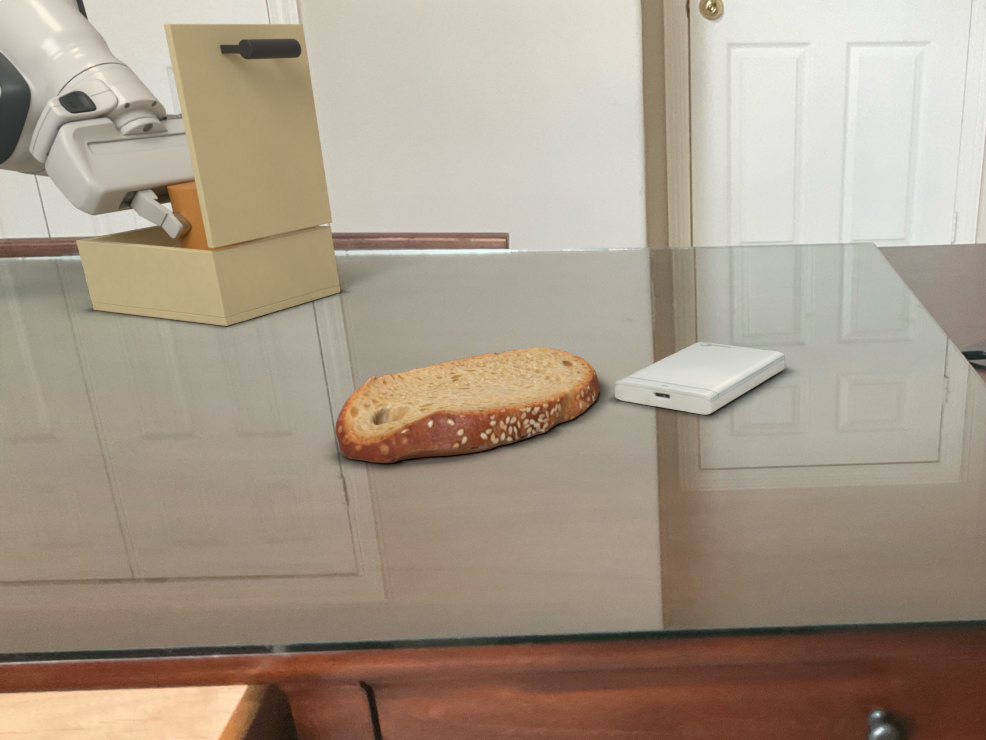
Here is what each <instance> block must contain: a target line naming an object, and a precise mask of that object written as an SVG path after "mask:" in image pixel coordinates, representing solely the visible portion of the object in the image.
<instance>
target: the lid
mask: <svg viewBox="0 0 986 740" xmlns="http://www.w3.org/2000/svg"><path fill="white" fill-rule="evenodd" d="M163 28H164V33H165V37H166V43H167V47H168V53H169V58H170V62H171V67H172V73H173V77H174V82H175V88H176V92H177V98H178V102H179V107H180V114H181V113H182V118H183V123H184V128H185V133H186V138H187V143H188V148H189V153H190V158H191V163H192V168H193V173H194V178H195V183H196V188H197V193H198V198H199V203H200V208H201V213H202V219H203V224H204V229H205V234H206V239H207V244H208V248H217V247H222V246H226V245H231V244H236V243H240V242H245V241H249V240H254V239H259V238H263V237H268V236H272V235H277V234H281V233H286V232H291V231H295V230H300V229H304V228H309V227H314V226H318V225H319V226H324V225H326V224H327V225H328V224H331V223H333V217H332V211H331V204H330V198H329V192H328V184H327V177H326V171H325V164H324V158H323V149H322V143H321V137H320V131H319V125H318V117H317V111H316V104H315V98H314V91H313V85H312V77H311V69H310V63H309V58H308V50H307V44H306V38H305V30H304V24H302V23H164V24H163Z"/></svg>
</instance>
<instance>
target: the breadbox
mask: <svg viewBox="0 0 986 740" xmlns="http://www.w3.org/2000/svg"><path fill="white" fill-rule="evenodd" d="M75 243H76V246H77V249H78V255H79V258H80V261H81V265H82V270H83V273H84V277H85V281H86V284H87V285H86V286H87V288H88V289H87V290H88V292H89V296H90V300H91V304H92V308H93V310H94V311H100V312H107V313H117V314H124V315H132V316H142V317H149V318H157V319H165V320H173V321H182V322H189V323H190V322H191V323H198V324H207V325H213V326H222V327H230V326H232V325H236V324H239V323H242V322H245V321H246V322H247V321H249V320H252V319H255V318H259V317H262V316H266V315H269V314H272V313H276V312H279V311H283V310H285V309H289V308H292V307H295V306H299V305H303V304H306V303H309V302H313V301H317V300H319V299H323V298H325V297H330V296H333V295H336V294H340V293H341V286H340V278H339V272H338V267H337V266H338V265H337V260H336V254H335V247H334V240H333V234H332V228H331V225H318V226H314V227H309V228H304V229H300V230H295V231H291V232H286V233H281V234H277V235H272V236H268V237H263V238H259V239H254V240H249V241H245V242H242V244H240V245H236V246H231V247H227V248H222V249H218V250H213V251H209V250H198V249H187V248H181V244H180V240H179V237H178V238H174V239H173V238H171V237H170V235H169V234H168V233H167V232H166V231H165V230H164V229H163V228H162V226H158V225H151V226H147V227H142V228H135V229H130V230H126V231H119V232H114V233H108V234H104V235H103V234H102V235H98V236H93V237H87V238H82V239H77V240H75Z"/></svg>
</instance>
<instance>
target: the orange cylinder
mask: <svg viewBox="0 0 986 740" xmlns="http://www.w3.org/2000/svg"><path fill="white" fill-rule="evenodd" d="M167 189H168V194H169V198H170V202H171V203H170V205H171V206H170V207H171V211H172V212H173V213H176V212H180V213H181V214H182V215H183V216H184V217H185V219H186V220H188V221H189V222H190V224H191V229H190V231H189V232H188V235H187V236H183V237H179V240H180V244H181V248H187V249H198V250H209V251H213V250H218V249H222V248H227V247H231V246H236V245H240V244H242V242H240V243H236V244H231V245H226V246H222V247H217V248H208V244H207V239H206V234H205V229H204V224H203V219H202V213H201V208H200V203H199V198H198V193H197V188H196V183H195V181H193V182H187V183H182V184H176V185H170V186H167Z"/></svg>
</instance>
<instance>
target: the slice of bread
mask: <svg viewBox="0 0 986 740" xmlns="http://www.w3.org/2000/svg"><path fill="white" fill-rule="evenodd" d="M599 394H600V383H599V378H598V374H597V372H596V370H595V368H594V367H593V366H592V365H591V364H590V363H589V362H588V361H587V360H585V359H584V358H582V357H581V356H578V355H575V354H573V353H570V352H568V351H567V350H561V349H555V348H550V347H545V346H544V347H543V346H539V347H531V348H530V347H529V348H523V349H512V350H511V349H510V350H504V351H502V352H493V353H490V352H488V353H484V354H482V355H481V354H480V355H471V356H468V357H462V358H457V359H453V360H448V361H445V362H442V363H439V364H434V363H433V364H432V365H431V364H430V365H428V366H424V367H417V368H413V369H410V370H408V371H402V372H398V373H387V374H384V375H381V376H378V377H377V374H375V375H373V376H370V377H369V379H368V380H366V381H365V383H364V384H362V385H361V386H359V387H357V388H356V389H354V391H353V392H352V394H351V395H349V397H348V398H347V399H346V401H345V402H344V404H343V405H342V408H341V409H340V411H339V414H338V416H337V418H336V422H335V429H334V431H335V436H336V439H337V442H338V445H339V450H340V452H341V454H342V455H343V456H344V457H345V458H347V459H350V460H356V461H364V462H369V463H375V464H376V463H377V464H392V463H396V462H399V461H404V460H409V459H419V458H426V457H427V458H428V457H447V456H457V455H465V454H472V453H473V454H474V453H478V452H479V453H480V452H483V451H488V450H491V449H493V448H496V447H499V446H505V445H510V444H514V443H515V442H519V441H522V440H526V439H530V438H531V437H532V438H533V437H534V436H538V435H541V434H545V433H547V432H548V431H550V430H551V429H552V428H553V427H555V426H556V425H557V426H558V425H559V424H562V423H564V422H568V421H571V420H574V419H575V418H577V417H578V416H580V415H582V414H584V413H585V412H586V411H587V409H588V408H590V406H592V405H593V404H594V403H595V402H596V401H597V400H598V397H599Z"/></svg>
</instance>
